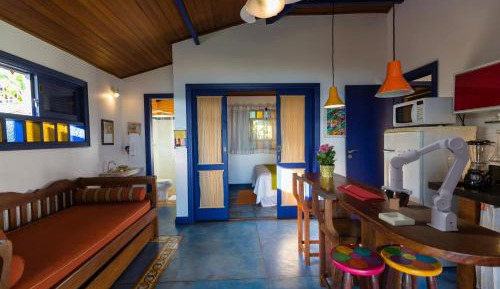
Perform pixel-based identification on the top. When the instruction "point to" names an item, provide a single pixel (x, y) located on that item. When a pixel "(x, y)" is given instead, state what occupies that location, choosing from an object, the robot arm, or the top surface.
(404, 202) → the mug
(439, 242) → the top surface
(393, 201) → the block
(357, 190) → the dish drying mat
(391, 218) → the tray
